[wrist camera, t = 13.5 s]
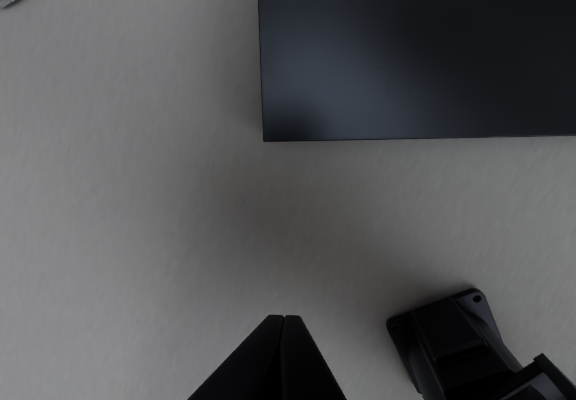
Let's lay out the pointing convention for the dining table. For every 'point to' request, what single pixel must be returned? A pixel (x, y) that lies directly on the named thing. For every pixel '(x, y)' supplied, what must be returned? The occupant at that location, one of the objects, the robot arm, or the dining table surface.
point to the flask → (5, 2)
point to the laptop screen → (417, 69)
